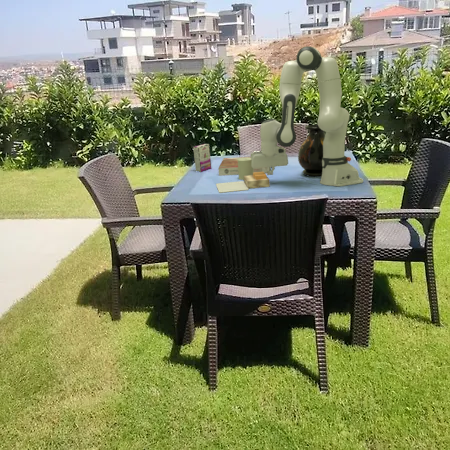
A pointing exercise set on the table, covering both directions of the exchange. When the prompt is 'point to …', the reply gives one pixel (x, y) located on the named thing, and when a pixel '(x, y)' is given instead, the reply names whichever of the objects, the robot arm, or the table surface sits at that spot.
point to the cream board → (231, 186)
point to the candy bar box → (202, 157)
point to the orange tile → (259, 175)
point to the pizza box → (235, 167)
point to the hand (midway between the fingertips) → (270, 174)
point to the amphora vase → (312, 152)
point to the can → (244, 167)
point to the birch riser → (256, 182)
